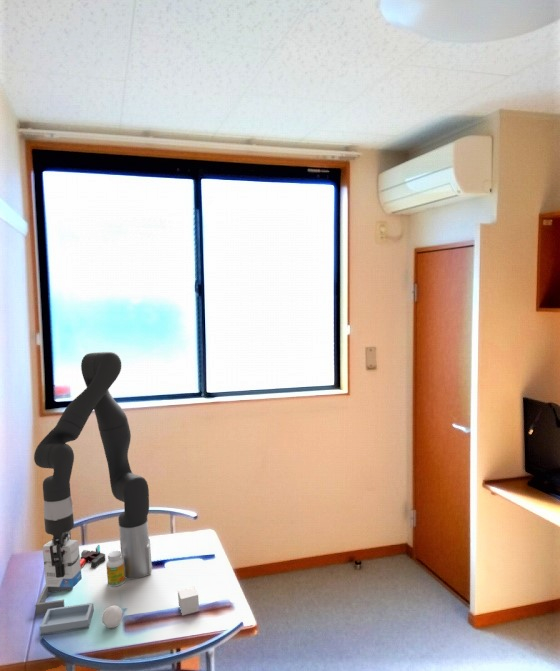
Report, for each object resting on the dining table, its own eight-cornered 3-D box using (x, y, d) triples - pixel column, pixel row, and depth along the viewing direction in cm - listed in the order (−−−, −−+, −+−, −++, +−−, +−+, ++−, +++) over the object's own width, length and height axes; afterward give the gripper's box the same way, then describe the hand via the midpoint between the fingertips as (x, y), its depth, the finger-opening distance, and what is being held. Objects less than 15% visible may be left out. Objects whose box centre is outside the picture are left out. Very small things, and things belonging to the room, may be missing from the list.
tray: (48, 617, 155) (47, 609, 155) (93, 610, 157) (93, 602, 157) (40, 635, 147) (39, 626, 147) (88, 628, 149) (87, 619, 149)
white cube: (195, 602, 159) (194, 586, 159) (199, 611, 154) (198, 594, 154) (178, 606, 157) (177, 590, 157) (182, 615, 153) (181, 599, 152)
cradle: (73, 588, 171) (72, 579, 170) (64, 610, 158) (63, 600, 158) (47, 591, 169) (46, 582, 169) (36, 614, 157) (35, 604, 157)
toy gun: (85, 554, 194) (84, 541, 194) (109, 560, 189) (108, 546, 188) (63, 566, 186) (62, 553, 186) (88, 573, 180) (86, 559, 180)
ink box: (82, 578, 153) (79, 538, 152) (73, 588, 148) (69, 547, 147) (55, 577, 154) (51, 538, 154) (45, 586, 150) (41, 546, 149)
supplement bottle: (109, 589, 169) (107, 559, 168) (106, 581, 174) (104, 552, 173) (126, 583, 171) (124, 554, 171) (123, 576, 176) (121, 548, 175)
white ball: (124, 629, 147) (122, 610, 147) (102, 634, 146) (100, 614, 145) (123, 614, 155) (122, 595, 154) (103, 618, 153) (101, 599, 153)
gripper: (51, 505, 156) (55, 560, 157) (37, 525, 142) (42, 586, 143) (77, 502, 158) (82, 557, 159) (66, 521, 143) (71, 582, 145)
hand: (63, 570), depth 151 cm, fingers closed on ink box, 6 cm apart
